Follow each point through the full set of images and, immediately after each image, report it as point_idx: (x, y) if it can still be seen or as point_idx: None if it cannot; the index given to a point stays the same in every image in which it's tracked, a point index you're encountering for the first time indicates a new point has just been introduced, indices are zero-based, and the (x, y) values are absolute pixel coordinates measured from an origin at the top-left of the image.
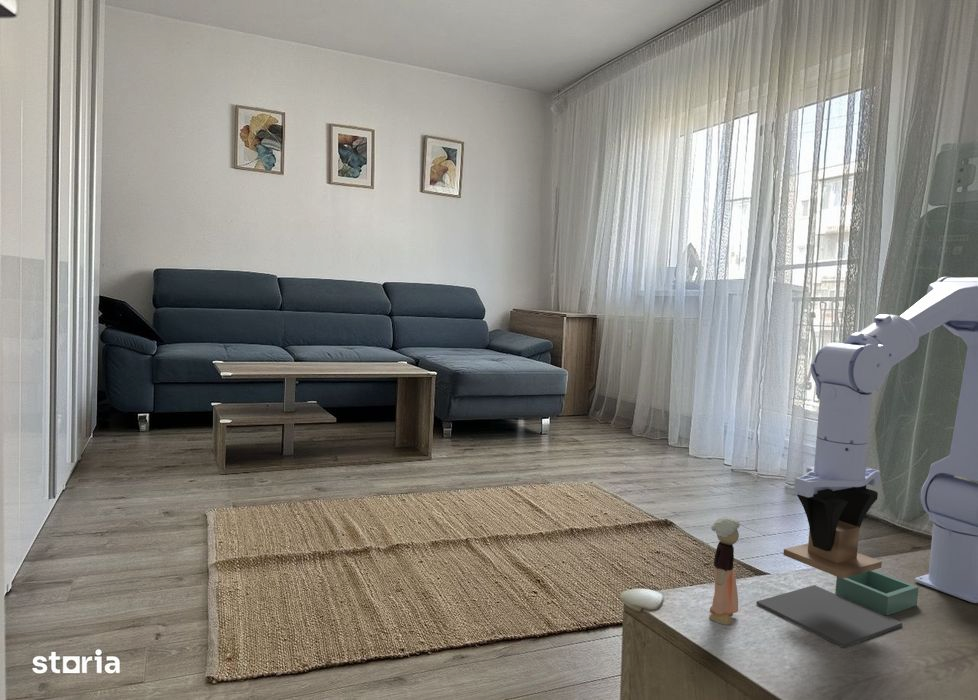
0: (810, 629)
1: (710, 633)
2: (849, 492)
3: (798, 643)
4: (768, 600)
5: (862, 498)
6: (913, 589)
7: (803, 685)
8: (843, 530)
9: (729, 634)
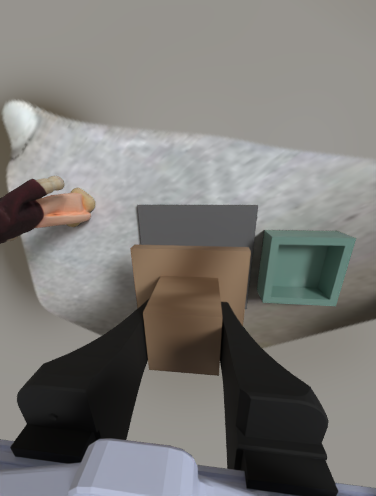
0: None
1: (43, 229)
2: (233, 451)
3: (114, 279)
4: (154, 210)
5: (228, 468)
6: (322, 304)
7: (69, 315)
8: (163, 369)
9: (61, 239)
